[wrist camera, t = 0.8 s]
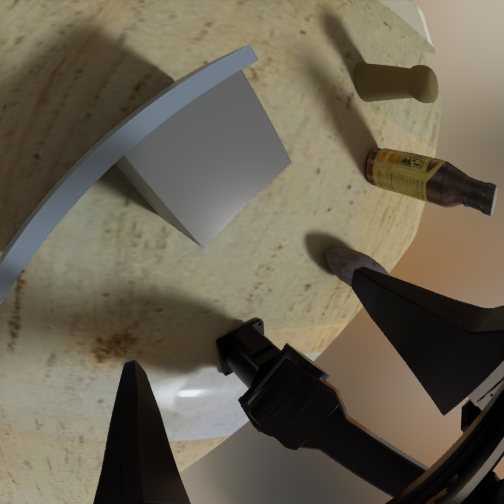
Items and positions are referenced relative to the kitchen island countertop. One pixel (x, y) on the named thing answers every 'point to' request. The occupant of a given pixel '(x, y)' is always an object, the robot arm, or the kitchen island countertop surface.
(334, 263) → the perforated stone tool
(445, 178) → the sauce bottle
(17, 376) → the kitchen island countertop surface
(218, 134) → the camera case
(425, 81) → the cork
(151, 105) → the side door
